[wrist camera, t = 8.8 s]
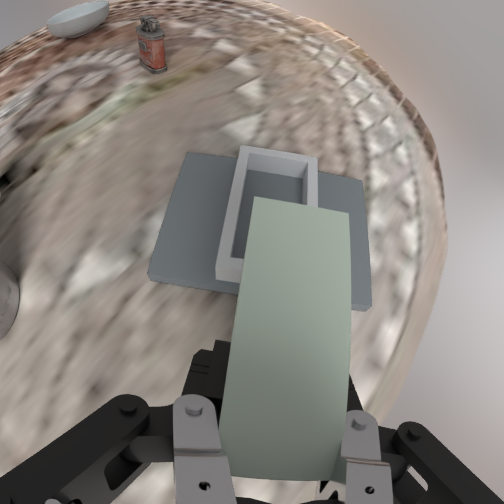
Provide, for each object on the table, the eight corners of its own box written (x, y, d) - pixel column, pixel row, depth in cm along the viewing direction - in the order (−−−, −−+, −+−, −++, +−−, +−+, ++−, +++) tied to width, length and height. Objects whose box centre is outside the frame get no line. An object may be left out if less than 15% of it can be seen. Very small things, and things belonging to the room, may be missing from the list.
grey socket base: (150, 280, 28) (140, 260, 24) (188, 161, 35) (185, 135, 32) (365, 311, 28) (384, 295, 25) (357, 188, 35) (369, 165, 32)
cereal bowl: (77, 46, 52) (72, 21, 46) (40, 47, 54) (35, 25, 48) (124, 20, 60) (122, -3, 54) (84, 20, 62) (81, 1, 56)
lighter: (136, 61, 47) (130, 15, 38) (152, 56, 48) (148, 10, 40) (153, 76, 44) (148, 24, 36) (171, 70, 46) (168, 19, 37)
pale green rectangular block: (216, 438, 16) (212, 473, 7) (236, 302, 21) (254, 196, 11) (290, 446, 16) (369, 477, 7) (303, 312, 21) (373, 218, 11)
